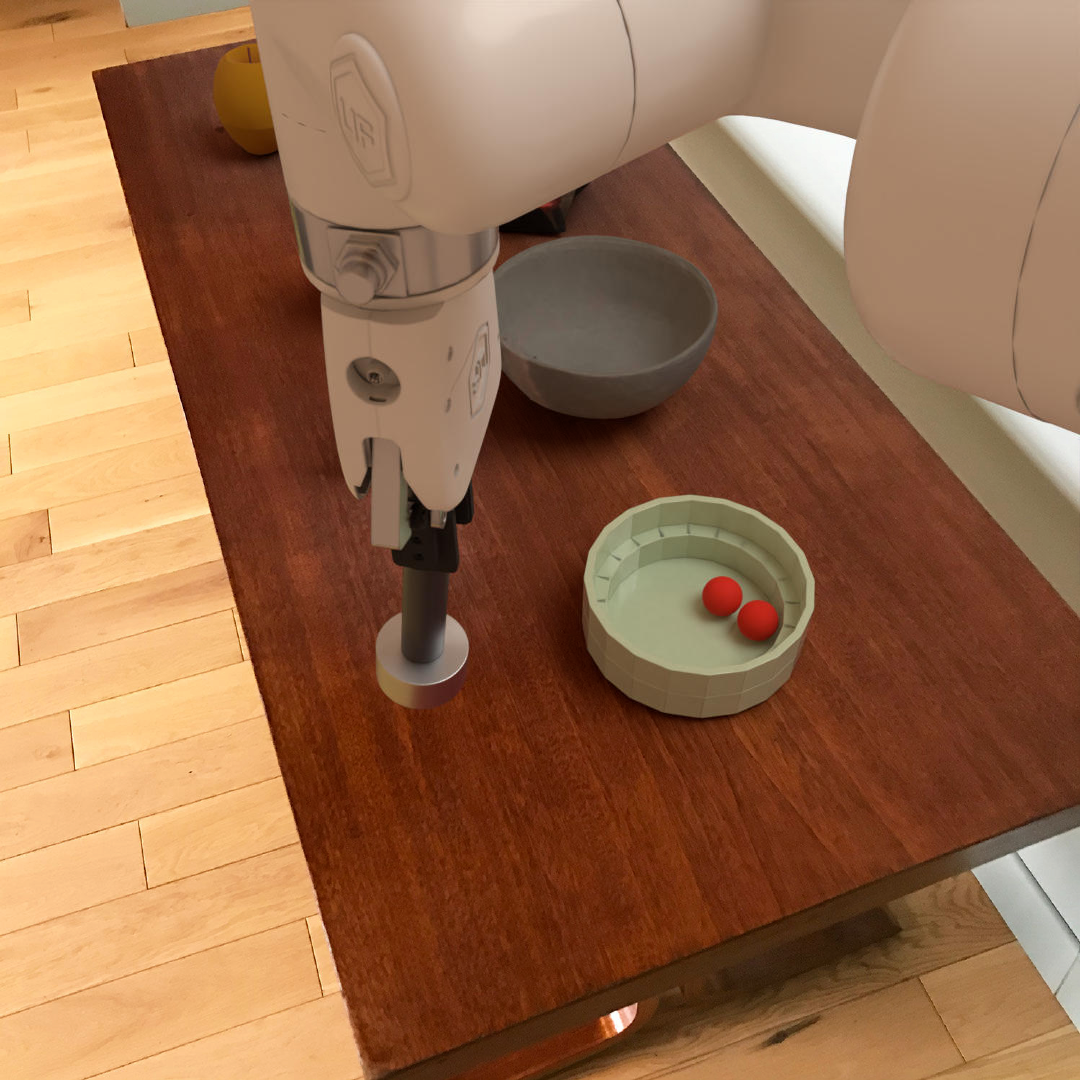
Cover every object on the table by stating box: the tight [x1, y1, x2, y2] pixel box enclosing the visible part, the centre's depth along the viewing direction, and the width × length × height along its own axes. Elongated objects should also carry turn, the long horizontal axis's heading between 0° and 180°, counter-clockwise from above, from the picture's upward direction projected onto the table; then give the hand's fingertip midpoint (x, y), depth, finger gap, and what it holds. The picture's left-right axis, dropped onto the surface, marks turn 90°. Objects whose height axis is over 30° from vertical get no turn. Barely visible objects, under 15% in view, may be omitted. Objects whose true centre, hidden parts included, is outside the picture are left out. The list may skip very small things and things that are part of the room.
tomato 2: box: [737, 600, 779, 641], centre depth 82 cm, size 3×3×3 cm
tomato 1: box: [702, 576, 743, 616], centre depth 83 cm, size 3×3×3 cm
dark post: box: [375, 488, 470, 710], centre depth 58 cm, size 5×5×18 cm
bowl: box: [493, 234, 719, 420], centre depth 98 cm, size 20×20×10 cm
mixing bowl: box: [581, 494, 816, 719], centre depth 81 cm, size 16×16×6 cm
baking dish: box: [499, 181, 592, 234], centre depth 118 cm, size 14×18×10 cm
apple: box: [212, 43, 279, 156], centre depth 124 cm, size 10×10×12 cm
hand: (434, 538), depth 55 cm, fingers closed on dark post, 2 cm apart
